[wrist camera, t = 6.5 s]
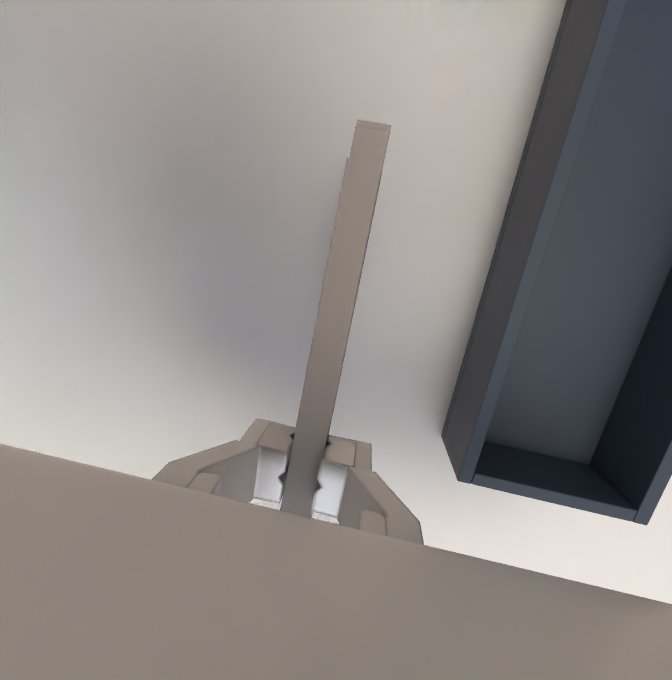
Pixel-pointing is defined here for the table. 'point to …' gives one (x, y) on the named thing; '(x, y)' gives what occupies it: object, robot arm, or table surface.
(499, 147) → the table surface
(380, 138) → the caliper
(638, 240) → the tray
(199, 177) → the table surface
